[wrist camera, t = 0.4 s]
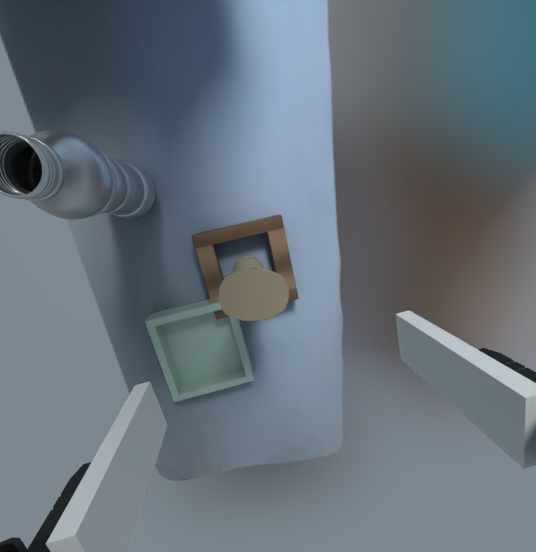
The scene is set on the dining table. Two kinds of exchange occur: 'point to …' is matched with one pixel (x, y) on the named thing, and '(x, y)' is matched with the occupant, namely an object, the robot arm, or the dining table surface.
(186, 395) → the tray
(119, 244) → the dining table surface
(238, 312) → the handle
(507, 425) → the robot arm
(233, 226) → the brown wooden frame
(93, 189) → the plastic bottle
